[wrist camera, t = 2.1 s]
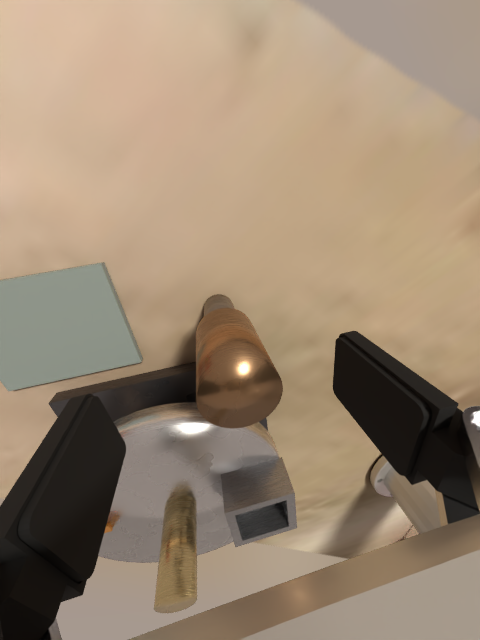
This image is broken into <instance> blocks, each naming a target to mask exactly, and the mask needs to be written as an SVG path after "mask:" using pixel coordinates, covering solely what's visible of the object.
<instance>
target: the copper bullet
mask: <svg viewBox="0 0 480 640" xmlns="http://www.w3.org/2000/svg"><path fill="white" fill-rule="evenodd" d="M282 391H283V386H282V381H281V378H280V376H279V374H278V372H277V371H276V369H275V367H274V365H273V363H272V361H271V359H270V357H269V355H268V354H267V352H266V350H265V348H264V346H263V344H262V342H261V340H260V338H259V337H258V335H257V333H256V331H255V329H254V327H253V325H252V323H251V322H250V320H249V318H248V317H247V316H246V315H245V314H244V313H242V312H241V311H239V310H236V309H235V308H234V306H233V304H232V302H231V300H230V299H229V298H228V297H226V296H224V295H213V296H211V297H210V298H208V299H207V300H206V302H205V304H204V317H203V318H202V320H201V321H200V322H199V324H198V327H197V330H196V404H197V408H198V410H199V412H200V414H201V415H202V416H203V418H204V419H206V420H207V421H208V422H210V423H211V424H213V425H216V426H219V427H223V428H242V427H247V426H250V425H253V424H255V423H258V422H259V421H261V420H263V419H264V418H266V417H267V416H268V415H270V414H271V413H272V412H273V410H274V409H275V408H276V407H277V405H278V404H279V401H280V399H281V396H282Z"/></svg>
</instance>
